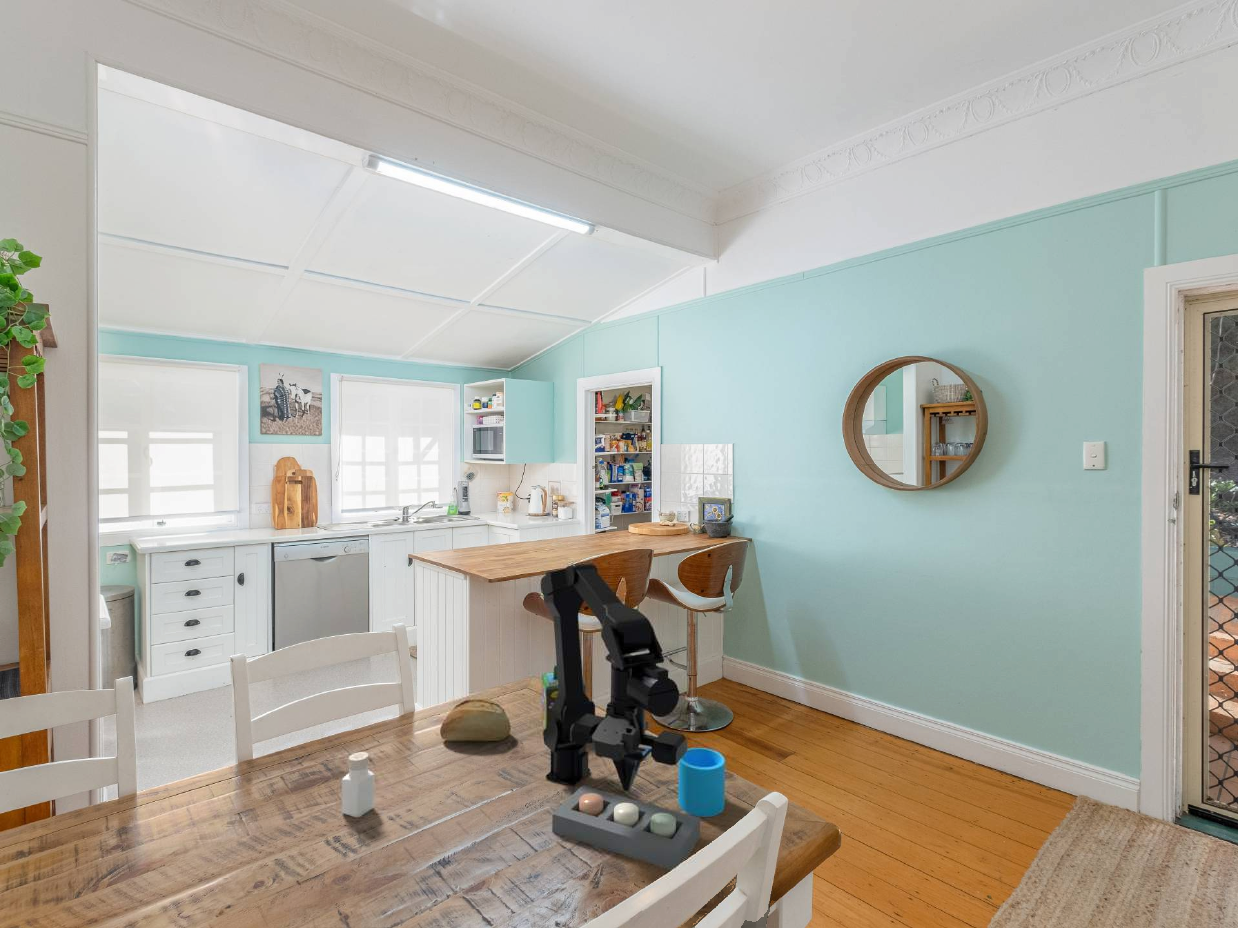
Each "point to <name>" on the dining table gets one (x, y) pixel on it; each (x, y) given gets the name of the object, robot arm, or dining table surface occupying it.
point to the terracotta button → (591, 804)
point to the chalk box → (550, 694)
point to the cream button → (626, 814)
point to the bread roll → (476, 722)
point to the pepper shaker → (358, 786)
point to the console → (627, 830)
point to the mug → (702, 782)
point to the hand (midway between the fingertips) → (627, 790)
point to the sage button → (663, 825)
